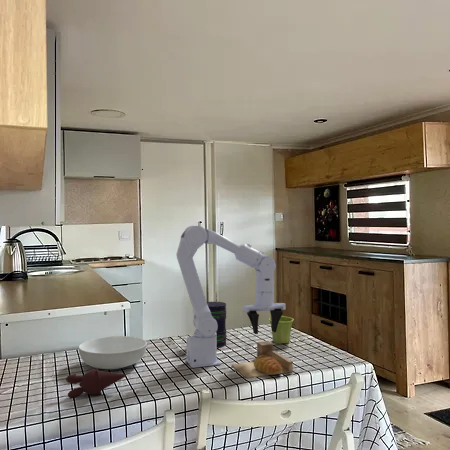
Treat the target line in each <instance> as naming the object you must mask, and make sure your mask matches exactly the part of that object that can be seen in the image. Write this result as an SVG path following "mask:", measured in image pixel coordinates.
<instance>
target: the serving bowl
mask: <svg viewBox="0 0 450 450" xmlns="http://www.w3.org/2000/svg"><path fill="white" fill-rule="evenodd" d="M147 345H148V342H147V340H145V339H143V338H141V337H135V336H126V335H124V336H123V335H115V336H114V335H113V336H102V337H96V338H93V339H88V340H86V341H83V342H82V343H80V344H79V345H78V353H79V356H80V358H81V360H82V361H83V363H84V364H86V365H87V366H90V367H91V368H94V369H96V368H98V369H102V370H105V371H106V370H108V371H109V370H110V371H111V370H112V371H113V370H118V369H119V370H120V369H124V368H126V367H129V366H132V365H135V364H136V363H138V362H139V361H140V360H141V359H142V358H143V356H144V355H145V353H146V351H147Z"/></svg>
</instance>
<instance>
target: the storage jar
mask: <svg viewBox="0 0 450 450" xmlns="http://www.w3.org/2000/svg"><path fill="white" fill-rule="evenodd" d="M206 302H207V305H208V307H209V310H210V312H211V315H212V317H213V318H214V319H215V320H216V321H217V324H218V328H217V331H216V333H217V334H216V335H217V348H222V347H225V346H226V345H227V329H226V326H227V325H226V321H227V303H226V302H223V301H206Z"/></svg>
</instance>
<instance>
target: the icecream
mask: <svg viewBox="0 0 450 450" xmlns="http://www.w3.org/2000/svg"><path fill="white" fill-rule="evenodd" d="M126 377H127V376H126V374H124V373H116V372H110V371H103V370H102V371H101V370H99V368H92V369H90V370H88V371H86V372H85V373H84V374H83V375H79V374H78V375H77V373H72V374H69V375H67V376H66V378H65V381H66V382H67V383H68V384H73V385H76V384H78V383H79V387H76V388H73V389H71V390H69V391H68V392H67V397H68V398H69V399H73V398H77V397H79V396H81V395H82V394H83V393H85V394H87V395H91V396H96V395H97V396H98V395H102V391H104V390H105V389H107V388H108V387H110V386H112V385H114V384H116V383H117V382H118V381H120V380H122V379H124V378H126Z"/></svg>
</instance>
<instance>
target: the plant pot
mask: <svg viewBox="0 0 450 450" xmlns="http://www.w3.org/2000/svg"><path fill="white" fill-rule="evenodd" d="M268 321H269V324H270V325H271V316H270V317H269V318H268ZM294 321H295V319H294V318H292V317H290V316H285V315H282V316H281V318H280V320H279V323H278V326H277V330H276V332H273V331H272V328H270V329H271V334H272V342H273V343H275V344H279V345H282V344H289V343H290V341H291V340H290V339H291V332H292V327H293V326H292V325H293V322H294Z"/></svg>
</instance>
